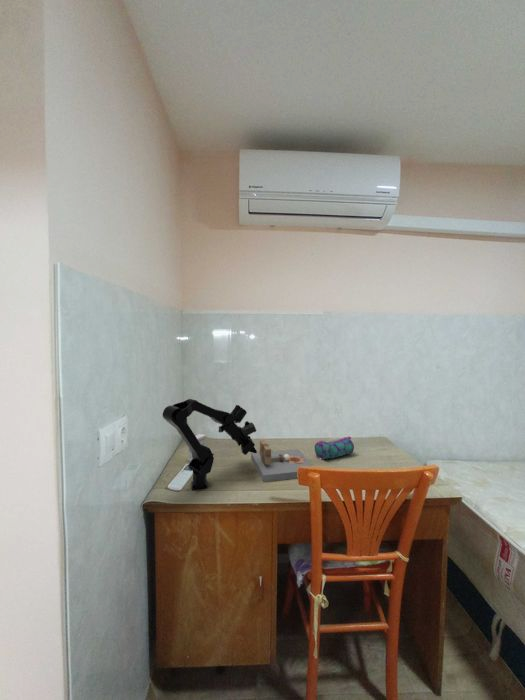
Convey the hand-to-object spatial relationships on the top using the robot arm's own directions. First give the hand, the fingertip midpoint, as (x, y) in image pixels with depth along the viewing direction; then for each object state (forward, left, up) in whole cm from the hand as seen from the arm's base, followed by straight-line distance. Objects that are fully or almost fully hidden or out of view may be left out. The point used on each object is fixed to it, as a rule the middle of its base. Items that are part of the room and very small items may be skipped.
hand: (256, 452), depth 131 cm
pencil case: (+6, -45, -9) cm, 47 cm away
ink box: (+17, +27, -8) cm, 33 cm away
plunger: (0, -8, -5) cm, 9 cm away
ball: (0, -15, -4) cm, 16 cm away
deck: (0, -13, -8) cm, 16 cm away
